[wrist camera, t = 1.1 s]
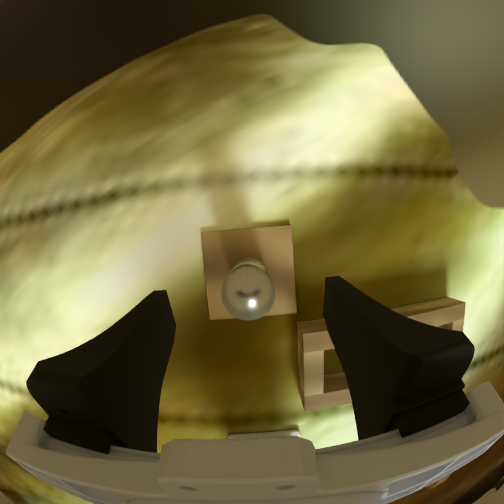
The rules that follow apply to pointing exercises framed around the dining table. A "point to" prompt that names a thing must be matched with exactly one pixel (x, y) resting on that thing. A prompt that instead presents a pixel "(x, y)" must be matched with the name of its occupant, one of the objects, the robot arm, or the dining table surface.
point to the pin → (248, 290)
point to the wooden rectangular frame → (317, 340)
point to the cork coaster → (250, 245)
